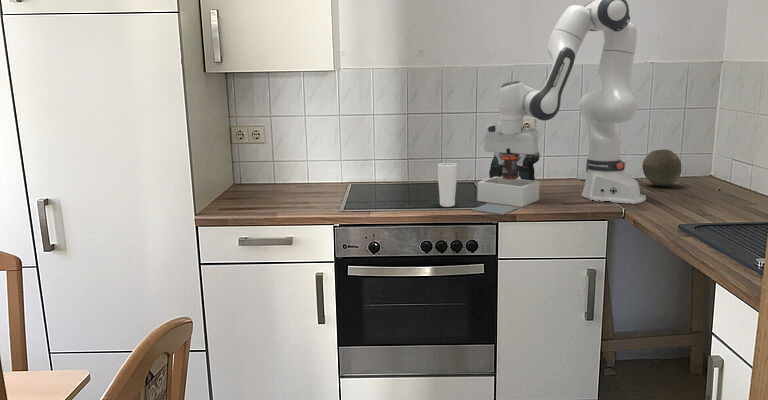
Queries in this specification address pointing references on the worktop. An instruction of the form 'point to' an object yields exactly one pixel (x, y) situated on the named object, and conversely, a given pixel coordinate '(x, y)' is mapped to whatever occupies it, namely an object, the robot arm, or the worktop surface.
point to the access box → (508, 191)
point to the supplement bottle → (510, 165)
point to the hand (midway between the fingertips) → (510, 165)
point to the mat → (495, 209)
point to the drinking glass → (447, 183)
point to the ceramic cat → (524, 171)
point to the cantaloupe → (662, 167)
